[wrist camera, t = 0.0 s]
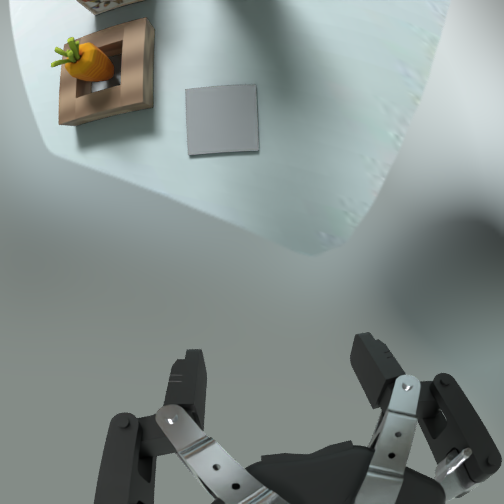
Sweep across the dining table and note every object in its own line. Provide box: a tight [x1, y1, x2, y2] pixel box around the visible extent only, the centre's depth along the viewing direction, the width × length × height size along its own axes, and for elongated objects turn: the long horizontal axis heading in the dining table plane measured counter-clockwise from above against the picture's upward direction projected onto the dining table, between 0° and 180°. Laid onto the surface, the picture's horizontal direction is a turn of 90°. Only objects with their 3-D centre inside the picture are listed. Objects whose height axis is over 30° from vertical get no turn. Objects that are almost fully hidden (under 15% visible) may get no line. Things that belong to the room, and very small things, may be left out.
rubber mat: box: [185, 84, 259, 155], centre depth 35 cm, size 10×10×1 cm
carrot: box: [51, 37, 114, 82], centre depth 23 cm, size 5×5×15 cm
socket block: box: [59, 17, 155, 126], centre depth 28 cm, size 14×14×5 cm
